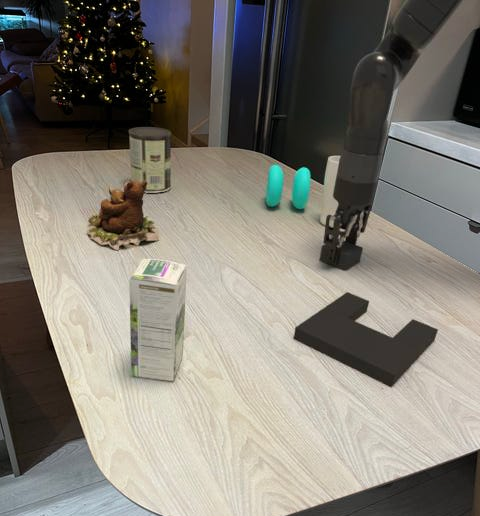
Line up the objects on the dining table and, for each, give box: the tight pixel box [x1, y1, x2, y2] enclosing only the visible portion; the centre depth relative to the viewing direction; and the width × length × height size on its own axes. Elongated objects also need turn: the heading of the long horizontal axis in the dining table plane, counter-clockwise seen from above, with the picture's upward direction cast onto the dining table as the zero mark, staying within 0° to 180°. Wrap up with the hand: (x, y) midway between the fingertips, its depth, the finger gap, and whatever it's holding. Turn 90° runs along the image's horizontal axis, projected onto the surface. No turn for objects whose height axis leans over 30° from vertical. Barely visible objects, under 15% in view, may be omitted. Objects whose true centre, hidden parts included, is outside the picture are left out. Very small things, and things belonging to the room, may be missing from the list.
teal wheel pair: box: [265, 164, 312, 210], centre depth 122 cm, size 10×10×10 cm
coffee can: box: [128, 126, 172, 194], centre depth 125 cm, size 10×10×14 cm
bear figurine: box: [86, 180, 160, 251], centre depth 99 cm, size 14×15×12 cm
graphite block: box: [318, 239, 364, 272], centre depth 99 cm, size 6×6×3 cm
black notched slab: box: [293, 291, 439, 388], centre depth 76 cm, size 16×16×2 cm
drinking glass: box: [319, 155, 341, 226], centre depth 113 cm, size 7×7×15 cm
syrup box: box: [128, 258, 188, 382], centre depth 62 cm, size 6×6×14 cm
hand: (340, 258), depth 99 cm, fingers closed on graphite block, 6 cm apart
